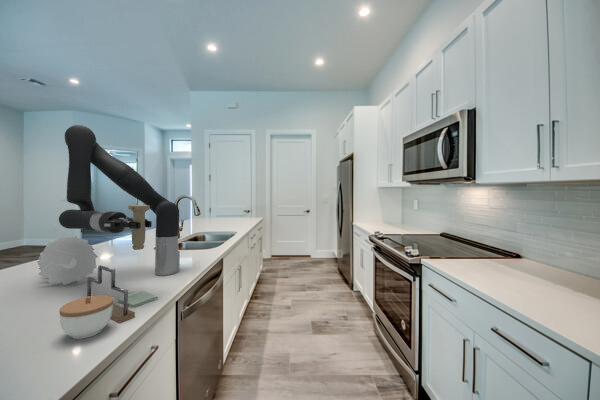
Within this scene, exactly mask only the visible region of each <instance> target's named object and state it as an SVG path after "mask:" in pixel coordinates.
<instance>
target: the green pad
mask: <svg viewBox="0 0 600 400" xmlns="http://www.w3.org/2000/svg"><path fill="white" fill-rule="evenodd" d="M156 300H158V295H156V294H152V293H150V292H146V291H145V290H142V291H138V292H136V293H132V294H128V308H129V307H130V308H132V309H134V308H136V307H140V306H142V305H145V304H149V303H150V302H153V301H156ZM117 303H119V304H122V305H124V296H122V297H119V298H117Z"/></svg>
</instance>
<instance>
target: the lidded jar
mask: <svg viewBox="0 0 600 400" xmlns="http://www.w3.org/2000/svg"><path fill="white" fill-rule="evenodd" d="M114 302H115V298H114V297H113V296H112V295H103V294H102V295H101V294H99V295H95V296H94V295H91V296H88V297H87V296H85V297H81V298H78V299H75V300H72V301H69V302H68V303H65V304H63V305H62V306H61V307H60V308H59V318H60V319H59V320H60V326H61V330H62V331H63V332H64V333H65V334H66V335H67V336H69V337H72V339H73V340H74V339H75V340H82V339H88V338H91V337H93V336H96V335H98V334H99V333H101V332H102V331H103V330H104V328H106V326H107V325H108V323H109V322H110V320H111V319H110V318H111V316H112V312H113V303H114ZM114 304H115V303H114Z"/></svg>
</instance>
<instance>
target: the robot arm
mask: <svg viewBox="0 0 600 400" xmlns="http://www.w3.org/2000/svg"><path fill="white" fill-rule="evenodd" d="M65 130H66V131H65V132H64V141H65V145H66V146H67V150H68V172H67V178H66V179H67V182H66V201H67V203H68V204H74V205H77V206H78V208H79V209H65V210H64V211H63V212H61V213H60V215H59V216H58V222H59V225H60V226H62V227H63V228H65V229H71V230H72V229H75V230H76V229H77V230H81V229H82V230H83V229H84V230H91V231H98V232H102V233H113V234H119V233H122V232H123V231H125V230H129V229H132V228H133V229H140V228H141V223H140V222H133V216H132V217H131V216H127V215H126V214H125V213H124V212H122V211H113V210H112V211H109V210H105V211H104V210H100V211H99V210H95V206H94V204H93V200H92V168H91V167H92V165H93V166H94V167H96V168H97V169H98V171H100V172H101V173H102V174H103V175H105V177H107V178H108V179H109V180H110V181H112V183H114V184H115V185H116V186H117V187H118V188H120V189H121V190H123V192H126V193H127V194H128V195H130V196H131V197H133V198H135V199H137V200H138V201H140V202H141V203H143V205H148V206H150V209H149V210H151V211H152V212H153V213H154V214H155V216H156V217H155V223H156V224H155V247H154V248H155V249H154V250H155V254H154V255H155V260H154V262H155V263H154V271H155V272H154V274H155V275H156V276H170V275H174V274H176V273H177V272H180V260H181V258H180V257H181V255H180V254H181V253H180V250H179V229H180V208H179V207H178V205H177V204H175V203H174V202H172V201H170V200H168V199H167V198H166V197H164V196H162V195H161V194H160V193H159V192H157V191H156V190H155V189H154V188H153V186H152V185H151V184H150V183H149V182H148V181H147V180H146V178H144V177H143V176H142V175H141V174H140V173H138V171H136V169H134V168H133V167H131V166H130V165H129V164H127V163H126V162H124V161H121V160H120V159H118V158H116V157H115V156H113V155H111V154H110V153H108V151H106V150H105V149H104V148H103V147H102V146H101V145H100V144H99V143H98V142H97V138H96V135H95V133H94V132H93V130H91V129H90V128H89V127H87V126H85V125H81V124H80V125H79V124H77V125H76V124H75V125H71V126H70V127H68V128H67V129H65ZM152 226H153V224H152V220H148V218H145V228H152Z"/></svg>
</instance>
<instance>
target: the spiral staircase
mask: <svg viewBox="0 0 600 400" xmlns="http://www.w3.org/2000/svg"><path fill="white" fill-rule="evenodd" d="M93 247H94V246H92V245H90V244H89V240H88V239H83V238H82V237H81V238H80V237H78V235H74V236H67V237H65V236H63V235H62V236H61V237H59V238H56V239H55V240H53V241H48V243H47V245H46V246H45V247H44V249H43V251H42V252H40V253H39V255H40V256H38V259H39V260H38V261H36V262H37V264H38V266H39V268H38V270H40V272H38V275H40V276H42V277H43V278H46V279H47V280H48V282H47V283H48V284H49V283H50V284H62V285H63V286H66V285H69V284H71V283H74V282H76V281H77V282H82V280H83V279H85V277H87V275H88V274H90V275H91V274H93V272H94V271H95V269H96V268H97V261H96V260H97V258H99V256H98V255H97V254H96V253H95V252H94V251H95V248H93Z"/></svg>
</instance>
